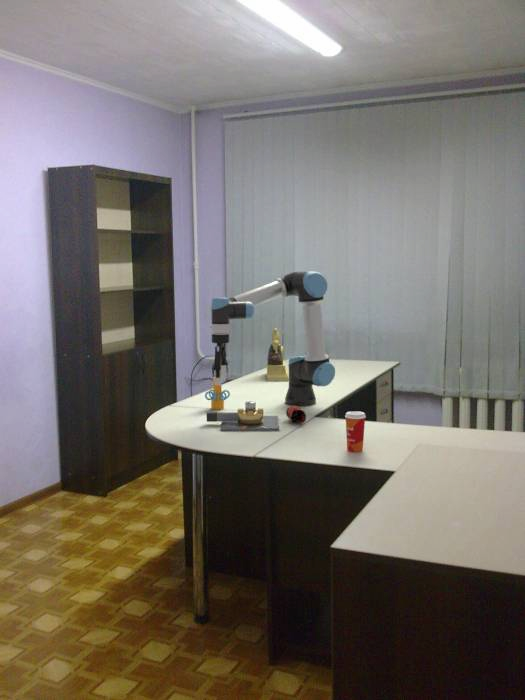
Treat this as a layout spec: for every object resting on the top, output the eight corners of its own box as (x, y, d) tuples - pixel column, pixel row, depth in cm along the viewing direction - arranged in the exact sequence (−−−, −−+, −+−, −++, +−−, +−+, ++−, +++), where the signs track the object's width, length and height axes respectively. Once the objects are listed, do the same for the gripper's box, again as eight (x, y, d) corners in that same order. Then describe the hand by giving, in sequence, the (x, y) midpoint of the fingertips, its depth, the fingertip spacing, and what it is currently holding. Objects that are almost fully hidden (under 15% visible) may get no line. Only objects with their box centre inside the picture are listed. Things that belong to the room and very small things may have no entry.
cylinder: (225, 411, 332) (224, 379, 330) (203, 410, 334) (203, 379, 332) (231, 406, 343) (231, 375, 342) (210, 405, 345) (210, 374, 344)
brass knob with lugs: (263, 418, 311) (263, 406, 310) (263, 424, 300) (263, 411, 300) (207, 418, 311) (207, 406, 310) (205, 424, 300) (205, 412, 299)
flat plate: (277, 417, 318) (277, 396, 317) (279, 431, 293) (279, 408, 292) (223, 418, 318) (223, 397, 316) (220, 431, 293) (220, 408, 292)
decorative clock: (289, 381, 414) (289, 329, 410) (266, 381, 414) (266, 330, 410) (288, 373, 442) (288, 325, 438) (267, 373, 442) (267, 325, 438)
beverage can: (300, 418, 317) (300, 403, 316) (306, 424, 305) (306, 409, 305) (284, 419, 316) (284, 404, 315) (290, 425, 304) (290, 410, 303)
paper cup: (342, 447, 267) (342, 411, 265) (362, 447, 268) (363, 410, 266) (346, 453, 259) (347, 415, 257) (367, 452, 260) (368, 415, 258)
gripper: (216, 330, 319) (216, 377, 322) (206, 336, 294) (207, 387, 297) (233, 330, 318) (233, 378, 321) (224, 336, 294) (225, 387, 296)
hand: (220, 382), depth 309 cm, fingers open, 13 cm apart
